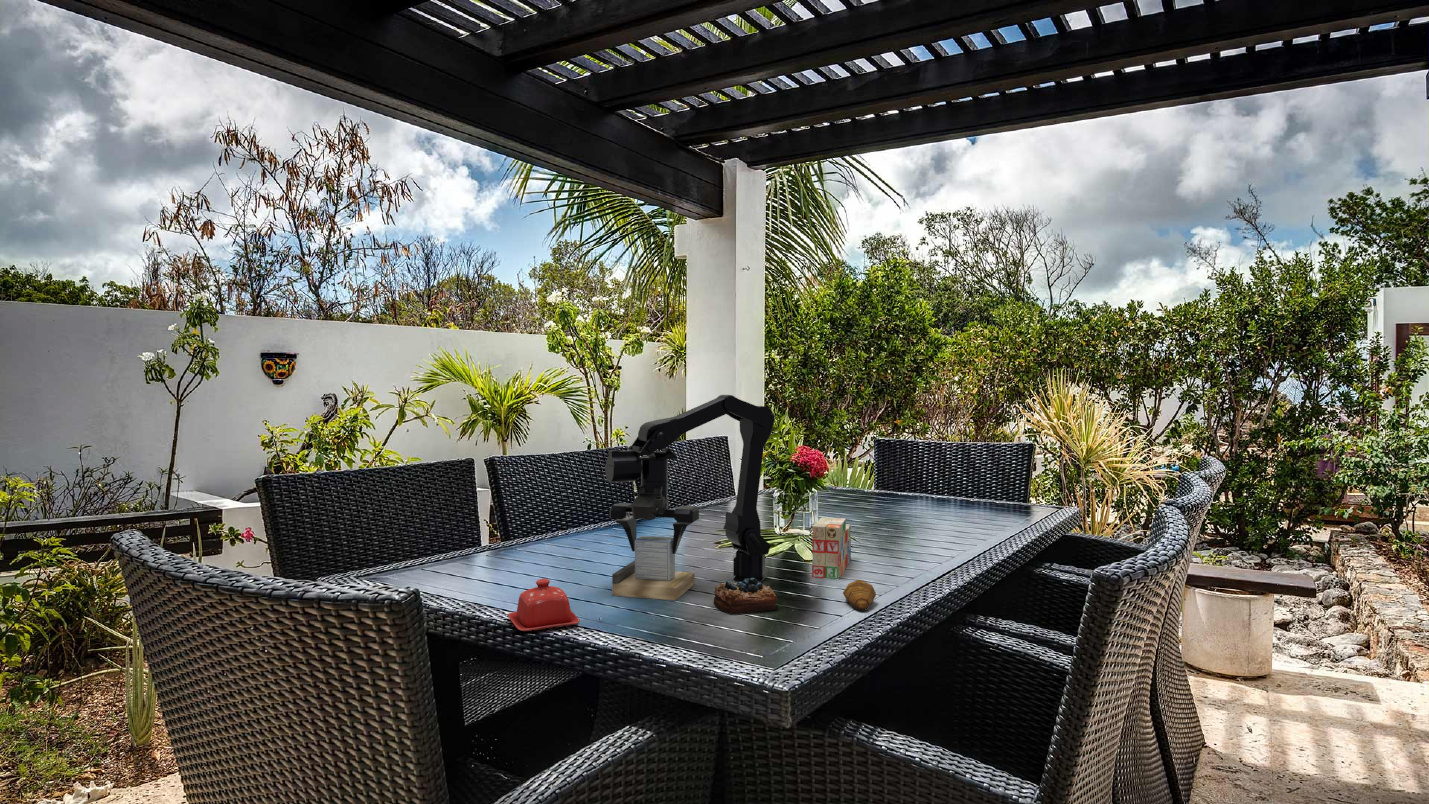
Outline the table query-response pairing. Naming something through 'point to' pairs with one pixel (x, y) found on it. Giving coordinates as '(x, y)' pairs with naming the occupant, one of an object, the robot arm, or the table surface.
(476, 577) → the table surface
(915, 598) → the table surface
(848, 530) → the stack of blocks
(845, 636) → the table surface
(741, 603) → the pastry
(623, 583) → the dock
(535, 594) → the butter dish
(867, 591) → the croissant
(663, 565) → the medicine box
